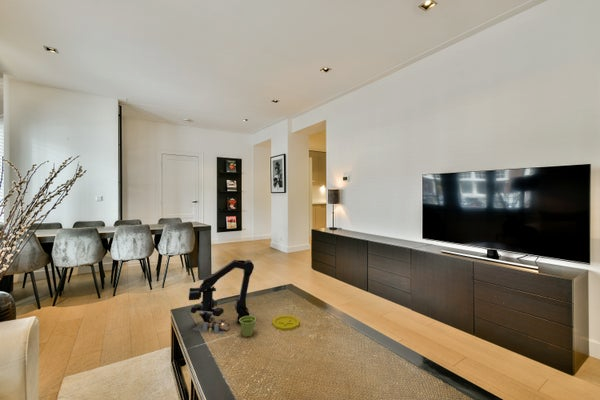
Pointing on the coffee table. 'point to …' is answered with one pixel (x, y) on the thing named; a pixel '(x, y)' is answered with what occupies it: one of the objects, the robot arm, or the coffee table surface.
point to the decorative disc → (285, 322)
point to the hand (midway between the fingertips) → (206, 324)
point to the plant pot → (247, 325)
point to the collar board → (204, 327)
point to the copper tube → (221, 325)
